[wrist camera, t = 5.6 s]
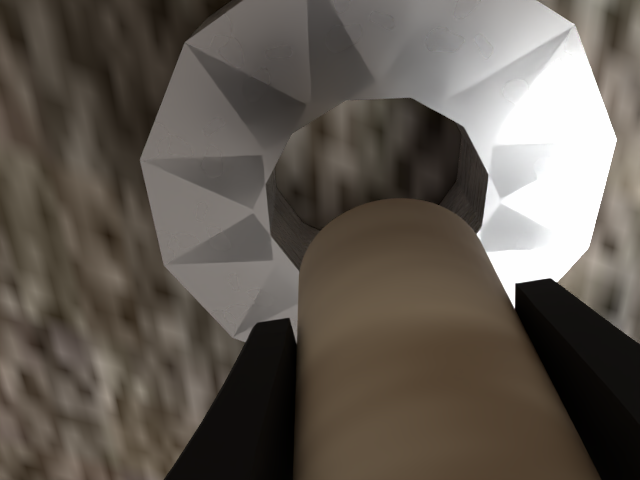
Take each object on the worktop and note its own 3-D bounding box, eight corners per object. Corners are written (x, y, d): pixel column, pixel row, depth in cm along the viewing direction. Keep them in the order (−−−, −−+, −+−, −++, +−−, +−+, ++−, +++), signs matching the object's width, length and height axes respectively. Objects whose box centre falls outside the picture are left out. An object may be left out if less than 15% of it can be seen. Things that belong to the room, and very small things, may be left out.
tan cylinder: (526, 247, 11) (770, 634, 5) (419, 373, 13) (512, 767, 7) (357, 165, 10) (425, 529, 4) (267, 313, 12) (226, 715, 6)
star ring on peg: (648, 79, 16) (712, 112, 13) (421, 353, 21) (436, 413, 19) (275, -158, 13) (266, -173, 10) (122, 232, 18) (92, 285, 16)
